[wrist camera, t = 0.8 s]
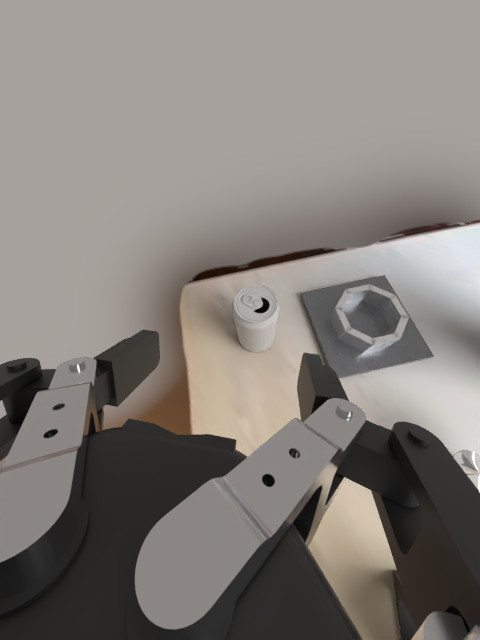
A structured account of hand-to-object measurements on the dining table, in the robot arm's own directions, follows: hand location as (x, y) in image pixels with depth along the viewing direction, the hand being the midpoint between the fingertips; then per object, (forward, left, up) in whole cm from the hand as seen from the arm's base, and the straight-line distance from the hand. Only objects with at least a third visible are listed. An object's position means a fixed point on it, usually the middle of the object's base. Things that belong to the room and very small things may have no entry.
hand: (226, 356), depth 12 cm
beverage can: (-4, -10, -26) cm, 28 cm away
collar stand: (-22, -8, -25) cm, 34 cm away
